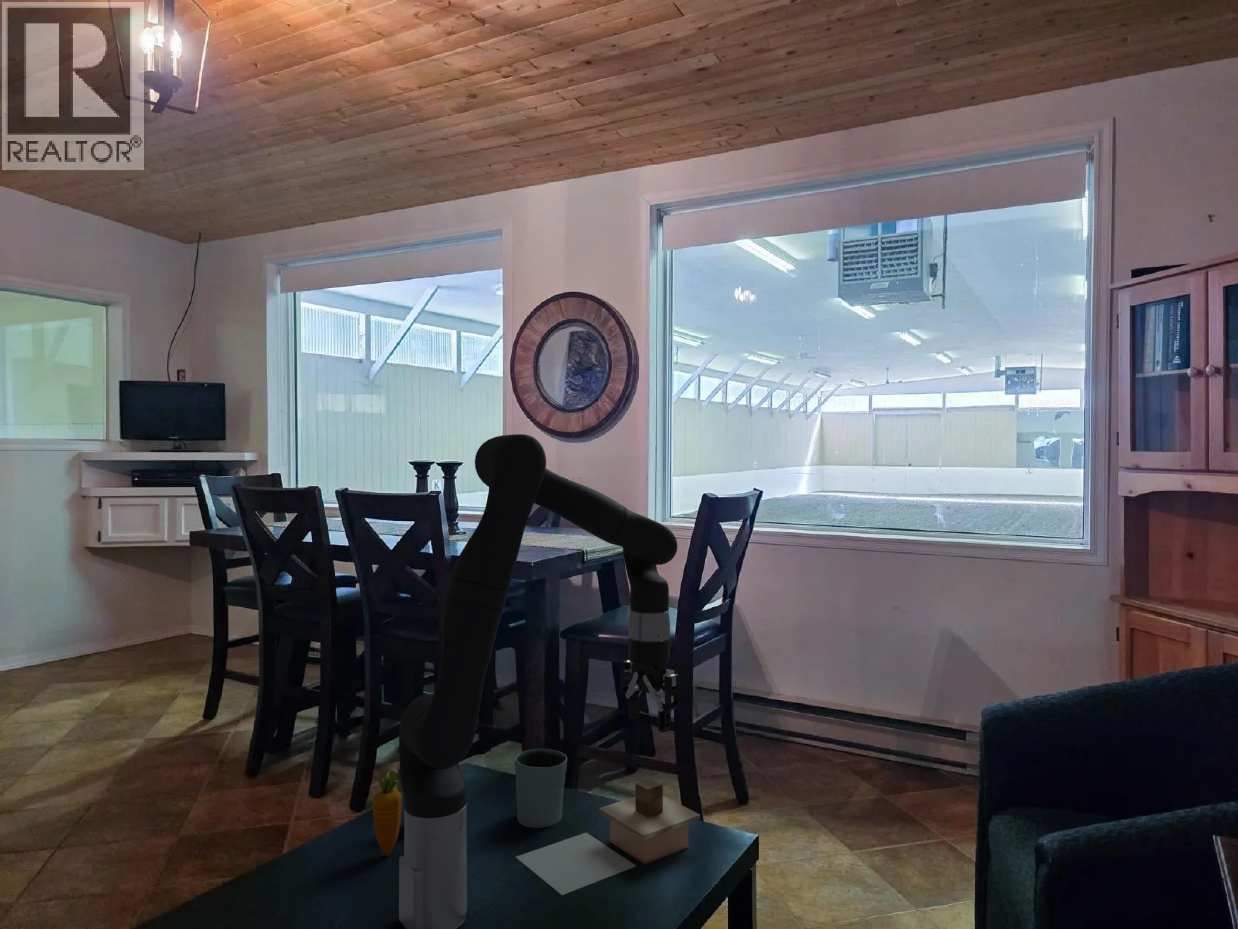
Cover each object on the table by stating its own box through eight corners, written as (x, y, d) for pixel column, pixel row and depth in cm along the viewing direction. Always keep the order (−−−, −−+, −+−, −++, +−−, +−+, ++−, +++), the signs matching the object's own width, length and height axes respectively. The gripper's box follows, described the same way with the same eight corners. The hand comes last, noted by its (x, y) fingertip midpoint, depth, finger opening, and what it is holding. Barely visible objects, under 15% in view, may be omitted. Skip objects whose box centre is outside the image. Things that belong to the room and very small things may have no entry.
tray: (562, 897, 122) (562, 895, 122) (515, 859, 134) (515, 857, 134) (636, 868, 131) (636, 866, 131) (586, 834, 143) (586, 832, 143)
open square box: (644, 866, 131) (645, 834, 131) (610, 844, 139) (610, 813, 139) (688, 849, 137) (688, 818, 137) (652, 828, 145) (652, 799, 145)
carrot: (366, 858, 134) (366, 772, 134) (387, 846, 138) (387, 763, 138) (387, 865, 131) (387, 778, 132) (407, 853, 136) (408, 768, 136)
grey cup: (508, 813, 152) (508, 752, 152) (556, 804, 156) (556, 745, 156) (524, 836, 142) (524, 771, 142) (574, 825, 147) (574, 762, 147)
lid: (643, 840, 129) (643, 806, 129) (598, 812, 140) (598, 780, 140) (700, 819, 137) (700, 787, 137) (653, 794, 147) (653, 764, 147)
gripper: (609, 630, 142) (608, 718, 142) (658, 645, 131) (658, 740, 130) (640, 626, 147) (640, 711, 146) (691, 639, 135) (690, 731, 135)
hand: (648, 725), depth 138 cm, fingers open, 8 cm apart
